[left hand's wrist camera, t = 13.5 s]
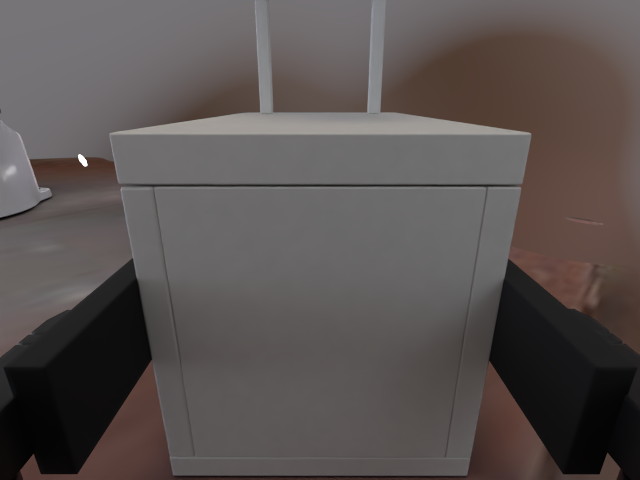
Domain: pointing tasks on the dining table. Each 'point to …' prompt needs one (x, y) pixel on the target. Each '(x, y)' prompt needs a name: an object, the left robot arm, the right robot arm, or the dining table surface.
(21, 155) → the right robot arm
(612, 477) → the dining table surface
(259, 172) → the lid
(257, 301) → the chest
